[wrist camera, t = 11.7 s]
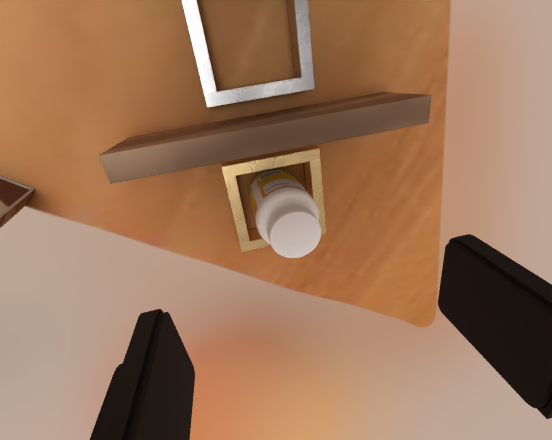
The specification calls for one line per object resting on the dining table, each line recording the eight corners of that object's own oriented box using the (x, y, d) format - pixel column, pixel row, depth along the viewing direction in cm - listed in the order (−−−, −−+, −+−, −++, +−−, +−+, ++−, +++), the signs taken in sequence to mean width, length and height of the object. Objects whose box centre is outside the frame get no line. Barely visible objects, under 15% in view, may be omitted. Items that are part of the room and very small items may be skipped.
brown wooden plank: (128, 137, 26) (98, 155, 19) (383, 92, 28) (431, 95, 21) (136, 159, 26) (110, 183, 20) (383, 114, 29) (428, 122, 22)
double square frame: (178, -23, 21) (173, -35, 19) (295, -39, 22) (303, -52, 20) (240, 240, 32) (241, 251, 30) (319, 223, 33) (326, 233, 30)
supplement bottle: (281, 223, 32) (304, 276, 23) (238, 201, 30) (246, 249, 21) (309, 183, 30) (344, 223, 22) (266, 156, 28) (286, 189, 20)
